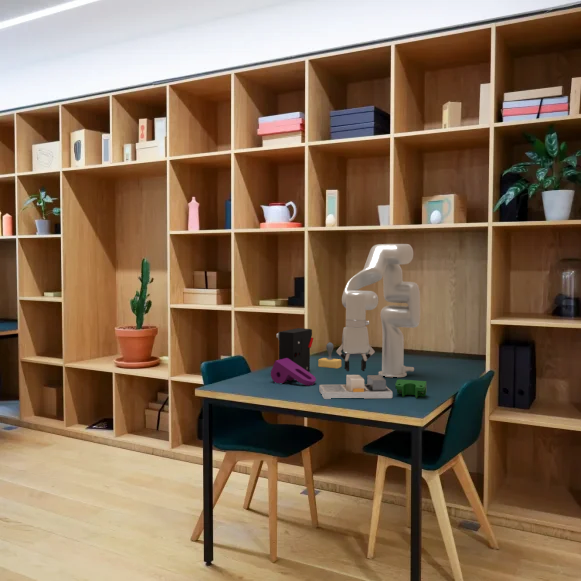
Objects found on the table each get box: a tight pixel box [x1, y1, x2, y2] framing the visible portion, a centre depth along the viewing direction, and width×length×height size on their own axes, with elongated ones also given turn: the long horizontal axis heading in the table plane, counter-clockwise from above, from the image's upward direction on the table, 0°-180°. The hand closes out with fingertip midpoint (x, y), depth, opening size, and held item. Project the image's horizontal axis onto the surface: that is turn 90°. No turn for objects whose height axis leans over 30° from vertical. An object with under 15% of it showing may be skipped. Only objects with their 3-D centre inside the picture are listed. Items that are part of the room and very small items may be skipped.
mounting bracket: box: [270, 358, 317, 387], centre depth 263 cm, size 9×8×18 cm
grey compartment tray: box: [318, 374, 393, 400], centre depth 240 cm, size 26×14×6 cm, turn 95°
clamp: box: [394, 378, 428, 399], centre depth 238 cm, size 12×6×9 cm, turn 64°
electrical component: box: [276, 327, 314, 374], centre depth 282 cm, size 18×10×20 cm, turn 150°
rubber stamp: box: [317, 342, 342, 369], centre depth 302 cm, size 10×6×12 cm, turn 62°
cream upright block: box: [345, 374, 365, 392], centre depth 240 cm, size 10×5×6 cm, turn 6°
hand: (355, 370), depth 240 cm, fingers open, 5 cm apart
